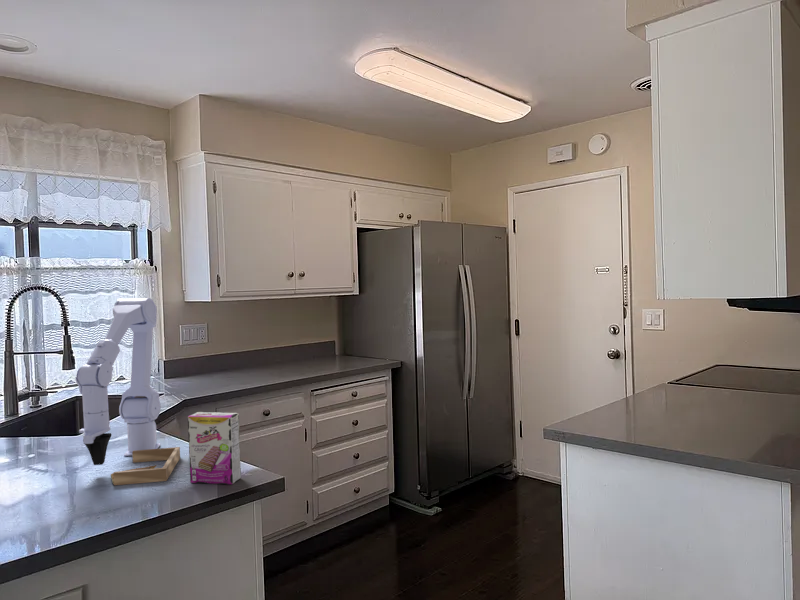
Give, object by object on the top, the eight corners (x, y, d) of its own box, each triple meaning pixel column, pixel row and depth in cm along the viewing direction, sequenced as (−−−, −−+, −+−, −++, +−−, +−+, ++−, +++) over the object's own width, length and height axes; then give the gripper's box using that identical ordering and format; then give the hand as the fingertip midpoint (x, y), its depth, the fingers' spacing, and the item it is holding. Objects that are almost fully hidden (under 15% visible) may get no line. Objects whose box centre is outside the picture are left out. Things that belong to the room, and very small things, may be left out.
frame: (133, 461, 161) (133, 450, 161) (180, 457, 163) (179, 446, 163) (113, 485, 142) (113, 473, 142) (166, 480, 145) (166, 468, 145)
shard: (156, 470, 154) (156, 463, 154) (161, 478, 148) (160, 471, 148) (110, 478, 149) (110, 471, 149) (112, 487, 142) (112, 480, 142)
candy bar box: (189, 484, 142) (186, 416, 141) (199, 476, 147) (196, 411, 146) (233, 485, 140) (230, 416, 139) (242, 478, 145) (239, 411, 144)
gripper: (88, 406, 156) (91, 456, 157) (68, 419, 142) (71, 475, 143) (116, 404, 158) (119, 454, 158) (100, 417, 143) (103, 472, 144)
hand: (99, 464), depth 151 cm, fingers closed
